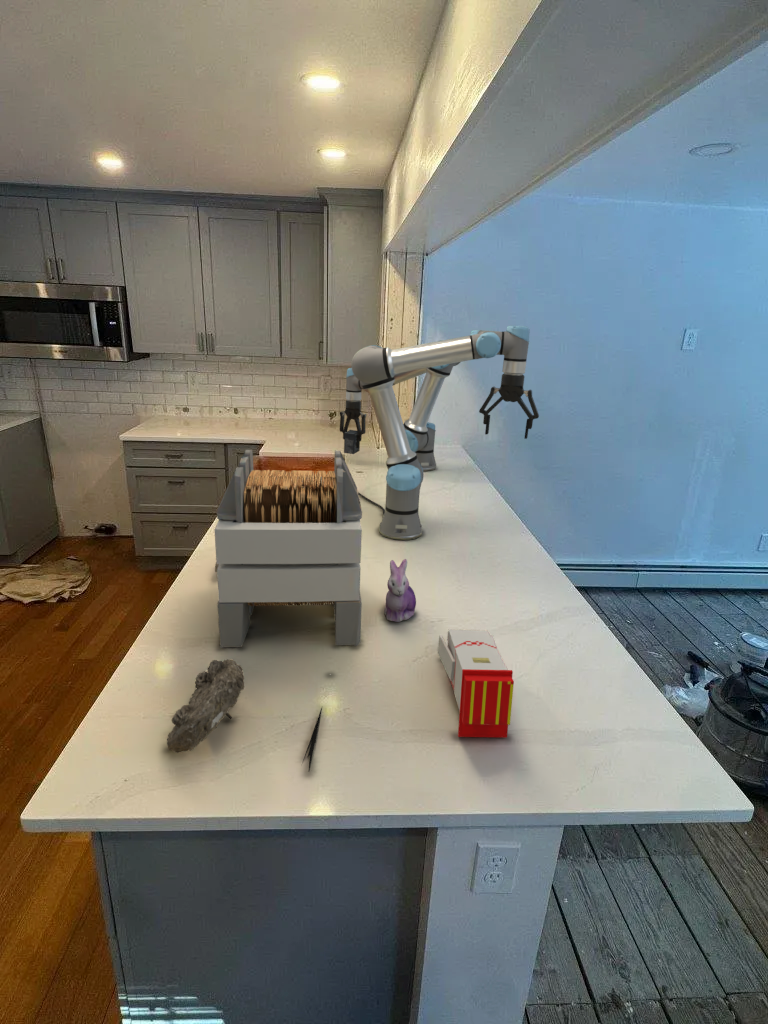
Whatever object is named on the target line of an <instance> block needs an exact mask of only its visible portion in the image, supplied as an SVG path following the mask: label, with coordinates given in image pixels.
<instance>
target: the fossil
mask: <svg viewBox="0 0 768 1024" xmlns="http://www.w3.org/2000/svg"><path fill="white" fill-rule="evenodd" d="M243 670H244V669H243V667H242V665H240V664H237V662H236V661H235V660H234V659H232V658H231V659H227V658H226V659H224V660H223V661H222V660H217V659H212V660H211V661H210V663H209V665H208V666H207V671H201V672H199V673H198V674H197V675H196V676H195V680H194V684H195V685H194V687H195V689H194V690H193V693H192V694H191V697H190V698H189V700H188V704H184V705H182V706H181V707H180V709H177V710H176V711H175V713H174V715H173V716H172V718H171V723H172V724H173V727H172V730H171V731H170V732H168V734H167V738H166V741H167V742H166V745H167V749H168V750H169V751H173V752H174V753H176V754H178V753H182V752H188V751H189V752H192V751H193V750H195V748H196V747H197V746H199V744H200V743H201V742H203V741H204V740H205V739H206V738H207V737H208V736H209V735H210V734H211V733H212V732H214V730H215V729H217V727H218V726H219V724H220V722H221V721H222V720H223V719H224V718H225V716H226V717H227V719H229V720H233V717H232V715H230V714H229V710H230V709H231V708H234V706H235V704H236V703H237V702H238V699H239V697H240V695H241V693H242V691H243V690H245V689H244V688H245V675H244V671H243Z"/></svg>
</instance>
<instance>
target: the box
mask: <svg viewBox="0 0 768 1024" xmlns="http://www.w3.org/2000/svg"><path fill="white" fill-rule="evenodd" d="M357 435H358V432H357V429H356V430H355V429H349V430H347V432H345V434H344V439H343V440H344V441H343V453H344V454H349V455H355V454H357V453H358V452H360V450H361V448H360V447H361V446H359V448H356V439H357Z"/></svg>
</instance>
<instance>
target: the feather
mask: <svg viewBox="0 0 768 1024" xmlns="http://www.w3.org/2000/svg"><path fill="white" fill-rule="evenodd" d="M329 675H330V676H331V675H332V674H331V673H330V674H329ZM322 710H323V707H321V708H320V710H319V713H318V716H317V719H316V723H315V725H314V728H313V731H312V733H311V737H310V739H309V742H308V745H307V748H306V751H305V754H304V757H303V760H302V763H301V767H302V765H303V763H304V761H305V758H308V759H309V760H308V762H307V763H308V764H307V766H308V771H310V770H311V766H312V765H311V764H312V760H313V757H315V756H314V755H315V751H316V749H315V746H317V739H318V733H319V729H320V722H321V717H322V712H323V711H322ZM313 754H314V755H313ZM306 755H307V757H306Z"/></svg>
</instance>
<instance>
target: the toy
mask: <svg viewBox="0 0 768 1024" xmlns="http://www.w3.org/2000/svg"><path fill="white" fill-rule="evenodd" d="M446 640H447V643H446V641H445V639H444V636H443V635H442V634H439V637H438V646H437V656H438V657H439V659H440V661H441V663H442V666H443V668H444V670H445V672H446V674H447V677H448V679H449V681H450V684H451V687H452V690H453V693H454V697H455V701H456V705H457V708H458V711H459V714H458V715H459V716H458V730H457V731H458V732H457V737H458V738H508V731H509V726H510V725H511V717H512V707H513V697H514V696H513V695H514V684H515V680H514V679H513V673H514V671H513V670H512V669H508V667H507V665H506V662H505V661H504V659H503V658H502V655H501V653H500V651H499V649H498V647H497V643H496V639H495V637H494V635H493V634H491V632H490V631H489V629H467V628H466V629H465V628H463V629H461V628H460V629H459V628H448V630H447V639H446Z"/></svg>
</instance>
